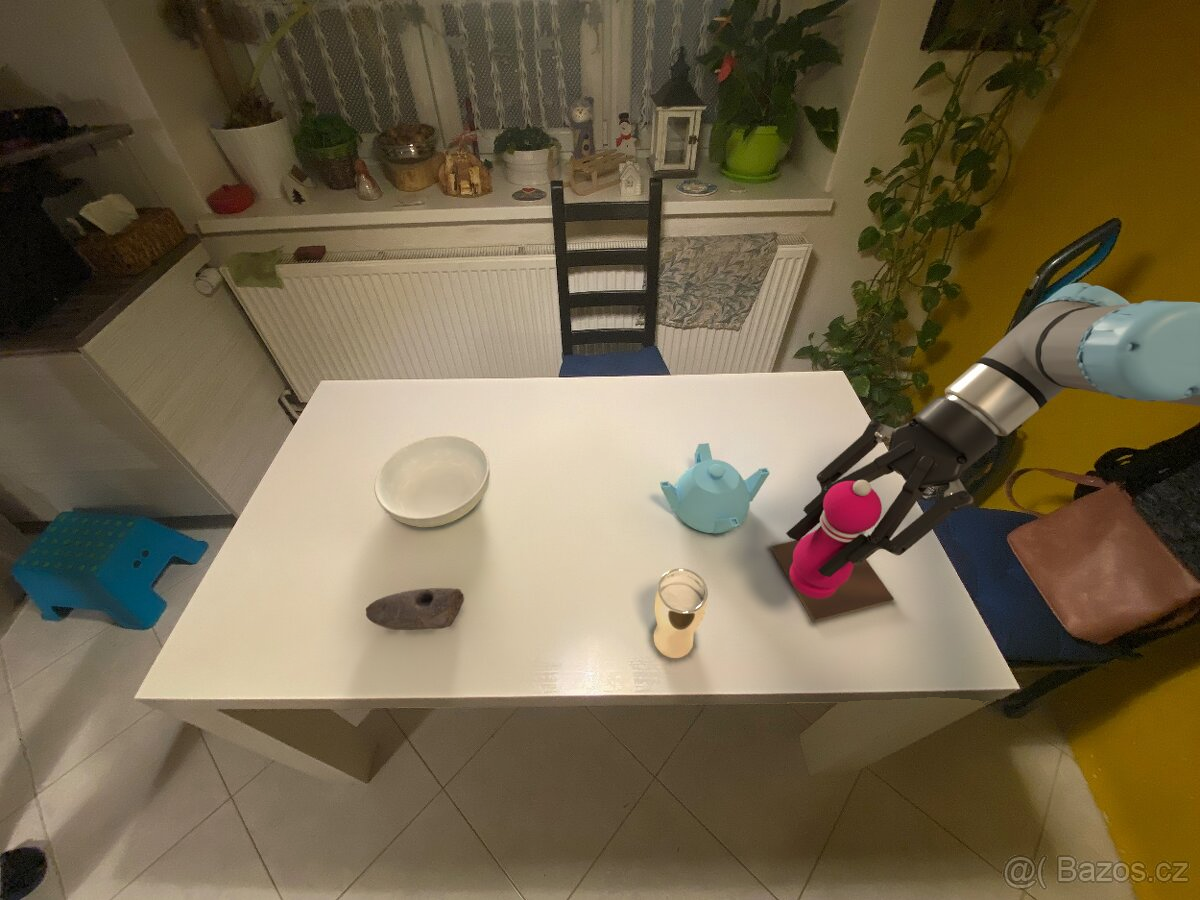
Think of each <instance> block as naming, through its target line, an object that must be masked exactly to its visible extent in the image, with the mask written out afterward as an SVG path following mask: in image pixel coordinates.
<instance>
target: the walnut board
mask: <svg viewBox="0 0 1200 900" xmlns="http://www.w3.org/2000/svg"><path fill="white" fill-rule="evenodd" d="M801 539H802V538H801ZM801 539H800V540H801ZM800 540H799V541H800ZM799 541H797V540H792V541H788V542H783V543H779V544H775V545H772V546H771V549H770V550H771V551H772V553H773V555H774V557H775V559H776V560H777V562H778V563H779V566H780V567H781V569H782V571H783V572H784V574H785V576H786V577H787V579H788V581H789V582H790V585H791V586H792V588H793V590H794V591H795V593H796V595H797V597H798V599H799V601H800V602H801V604H802V606H803V608H804V609H805V611H806V613H807V614H808V616H809V618H810V620H811V621H812V623H818V622H821V621H824V620H825V621H826V620H828V619H832V618H836V617H840V616H844V615H847V614H852V613H855V612H858V611H862V610H863V611H864V610H866V609H870V608H873V607H874V608H875V607H877V606H881V605H885V604H889V603H892V602H893V601H894V600H895V598H894V596H893V595H892V594H891V592H890V591H889V590H888V588H887V586H886V585H885V584H884V582H883V581H882V580H881V578H880V577H879V576H878V574H877V573H876V571H875V570H874V569H873V567H872V565H870V563H869V562H868V560H867V559H866V560H865V561H863V562H862V563H861V564H858V565H855V564H853V570H852V573H851V575H850V577H849V579H848V580H847V581H846V582H845V583H844V584H842V585H840V586H838V588H837V590H836V591H835V593H834V594H833V595H831V596H830V597H827V598H822V599H817V598H812V597H809V596H806V595H805V594H803V593H802V592H800V591H799V590H798V589H797V588H796V587H795V586H794V584H793V583H792V581H791V578H790V568H791V565H792V563H793V552H794V549H795V547H796V546H797V544H798V543H799Z"/></svg>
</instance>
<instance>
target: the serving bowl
mask: <svg viewBox="0 0 1200 900" xmlns="http://www.w3.org/2000/svg"><path fill="white" fill-rule="evenodd" d="M488 457H489V456H488V455H487V453H486V452H485V450H484V449H483V448H482V447H481V445H479V444H478V443H476V442H475V441H474V440H471V439H468V438H466V437H463V436H458V435H450V434H449V435H446V434H445V435H434V436H429V437H426V438H421V439H419V440H416V441H414V442H411V443H408V444H407V445H404V446H403V447H401V448H399V449H398V450H397V451H395V452H394V453H393V454H391V456H389V457H388V458H387V459H386V460H385V461H384V463H383V464H382V465H381V467H380V469H379V470H378V471H377V474H376V475H375V480H374V486H373V487H374V494H375V497H376V499H377V502H378V504H379V506H380V507H381V508H382V509H383V510H384V511H385V513H386V514H388V515H389V516H390V517H391V518H393V519H394V520H396V521H398V522H400V523H402V524H405V525H408V526H412V527H419V528H432V527H438V526H443V525H446V524H449V523H452V522H454V521H456V520H458V519H460V518H462V517H464V516H465V515H467V514H468V513H469V512H471V510H473V509H474V508H475V507H476V506H477V505H478V504H479V502H480V501H481V500H482V498H483V497H484V495H485V493H486V492H487V491H486V490H487V489H488V485H489V481H490V475H491V473H490V472H491V471H490V470H491V468H490V461H489V458H488Z"/></svg>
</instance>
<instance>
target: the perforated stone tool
mask: <svg viewBox="0 0 1200 900" xmlns="http://www.w3.org/2000/svg"><path fill="white" fill-rule="evenodd" d="M463 603H464V593H463V592H462V590H461V589H459V588H451V587H450V588H449V587H431V588H430V587H429V588H420V589H411V590H406V591H402V592H399V593H393V594H390V595H386V596H383V597H381V598H379V599H376V600H374V601H373V602H372V603H370V604H369V605H368V606H366V607H365V616H366V618H367V620H369V621H370V622H372V623H374V624H375V625H378V626H380V627H383V628H387V629H394V630H424V629H440V628H445V627H448V626H449V627H450V626H451V625H452V624H453V623H454V621H455V619H456V616H457V615H458V613H459V611H460V610H461V606H462V604H463Z"/></svg>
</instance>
